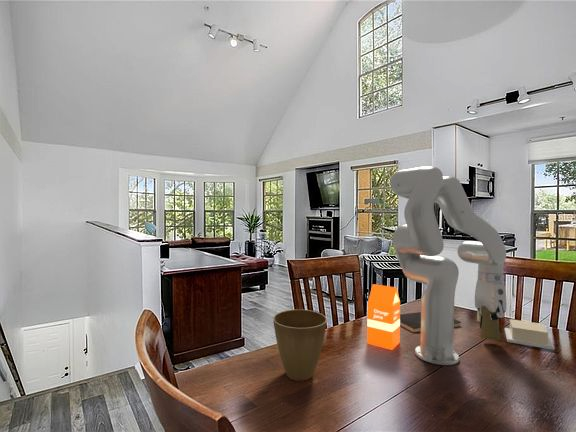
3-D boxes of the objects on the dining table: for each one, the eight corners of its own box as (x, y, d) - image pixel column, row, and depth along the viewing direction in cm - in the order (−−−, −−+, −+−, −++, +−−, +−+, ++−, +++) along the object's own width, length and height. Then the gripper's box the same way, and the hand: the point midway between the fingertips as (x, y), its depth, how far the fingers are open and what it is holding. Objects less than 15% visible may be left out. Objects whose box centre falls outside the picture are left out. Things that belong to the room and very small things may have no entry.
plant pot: (266, 366, 96) (266, 312, 95) (312, 359, 101) (312, 307, 101) (283, 393, 82) (283, 330, 82) (336, 383, 87) (336, 323, 87)
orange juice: (392, 350, 108) (392, 289, 107) (366, 343, 113) (367, 285, 113) (400, 342, 114) (400, 285, 114) (375, 336, 119) (376, 281, 119)
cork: (496, 335, 115) (494, 303, 117) (504, 340, 110) (502, 306, 111) (477, 334, 116) (476, 303, 118) (484, 339, 111) (483, 305, 112)
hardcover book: (461, 327, 131) (461, 321, 131) (413, 334, 124) (413, 328, 124) (432, 315, 146) (432, 310, 146) (388, 320, 139) (388, 315, 139)
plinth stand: (554, 349, 109) (554, 335, 109) (507, 341, 115) (507, 327, 115) (546, 336, 120) (547, 323, 120) (504, 330, 127) (504, 317, 126)
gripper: (518, 282, 107) (516, 338, 107) (483, 273, 123) (481, 322, 123) (497, 282, 106) (495, 338, 106) (465, 273, 122) (462, 322, 122)
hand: (487, 329), depth 114 cm, fingers closed on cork, 2 cm apart
